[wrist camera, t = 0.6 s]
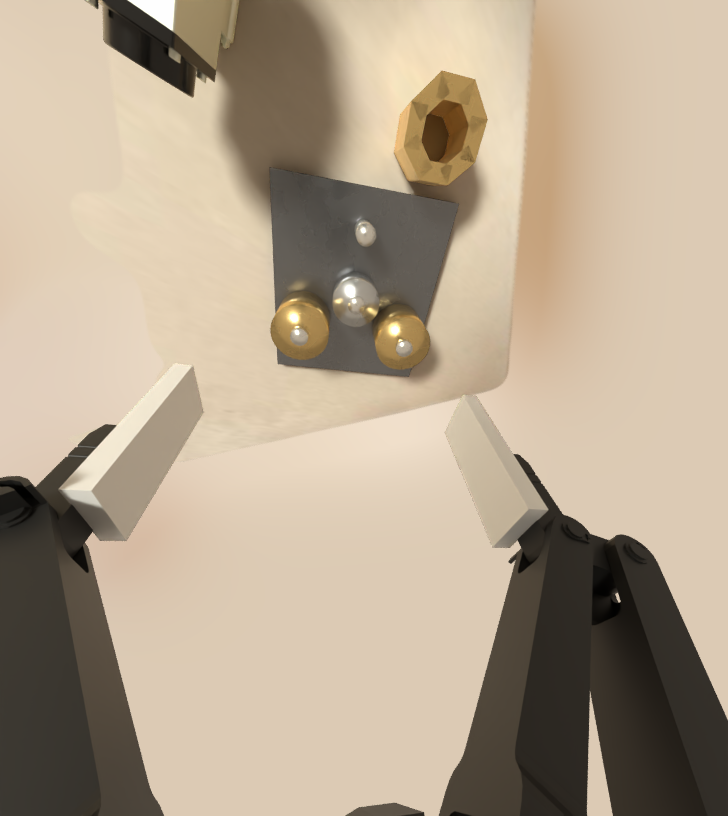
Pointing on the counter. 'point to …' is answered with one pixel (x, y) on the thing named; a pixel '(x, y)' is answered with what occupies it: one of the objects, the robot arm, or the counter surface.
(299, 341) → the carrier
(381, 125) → the counter surface
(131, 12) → the pneumatic valve
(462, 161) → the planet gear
